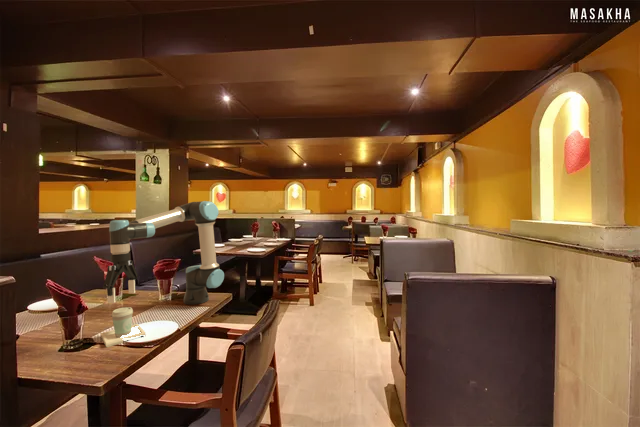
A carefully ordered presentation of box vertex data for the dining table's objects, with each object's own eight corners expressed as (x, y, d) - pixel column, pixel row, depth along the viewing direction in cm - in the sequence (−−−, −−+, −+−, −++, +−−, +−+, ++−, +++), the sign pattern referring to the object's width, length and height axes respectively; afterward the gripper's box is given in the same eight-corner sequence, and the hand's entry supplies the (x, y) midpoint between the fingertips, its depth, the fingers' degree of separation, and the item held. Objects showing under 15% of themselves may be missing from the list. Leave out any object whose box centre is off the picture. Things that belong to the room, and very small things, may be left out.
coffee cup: (122, 339, 130) (121, 313, 130) (107, 338, 132) (106, 312, 132) (138, 331, 139) (137, 307, 138) (123, 330, 140) (122, 306, 140)
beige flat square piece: (137, 327, 146) (137, 323, 146) (145, 336, 135) (145, 332, 135) (100, 337, 135) (100, 333, 135) (106, 347, 125) (106, 343, 125)
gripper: (130, 249, 147) (132, 290, 148) (91, 257, 122) (93, 307, 123) (144, 248, 147) (146, 289, 148) (108, 257, 122) (110, 306, 123)
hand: (122, 297), depth 135 cm, fingers open, 13 cm apart
